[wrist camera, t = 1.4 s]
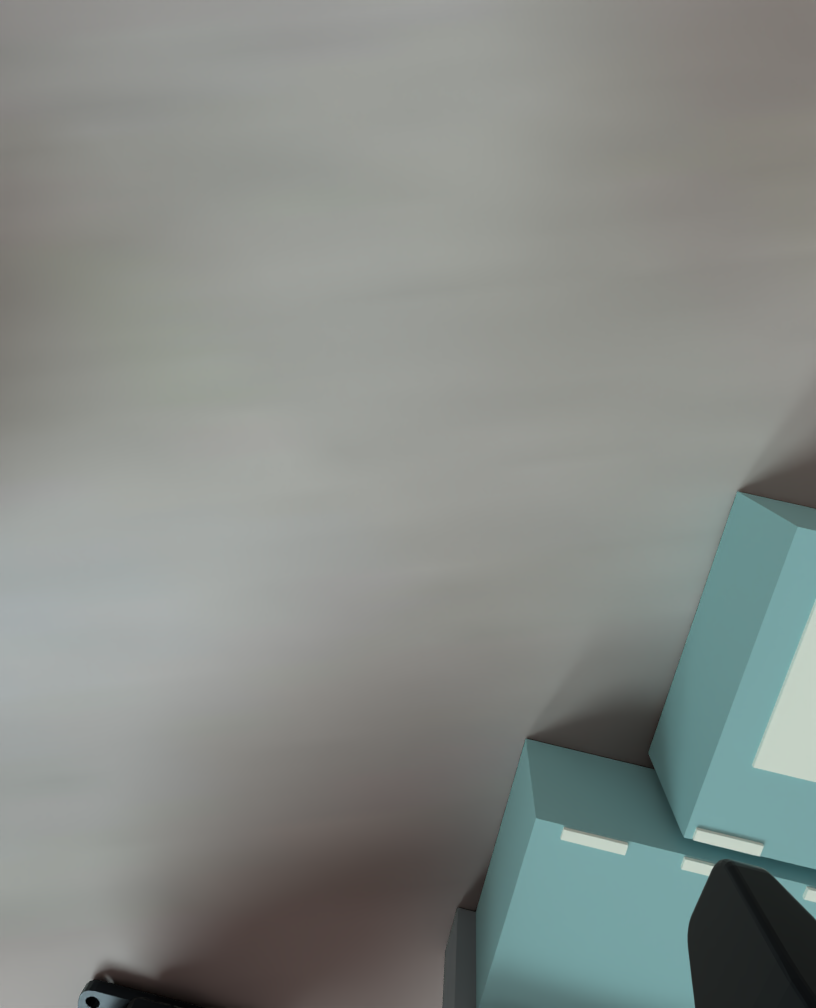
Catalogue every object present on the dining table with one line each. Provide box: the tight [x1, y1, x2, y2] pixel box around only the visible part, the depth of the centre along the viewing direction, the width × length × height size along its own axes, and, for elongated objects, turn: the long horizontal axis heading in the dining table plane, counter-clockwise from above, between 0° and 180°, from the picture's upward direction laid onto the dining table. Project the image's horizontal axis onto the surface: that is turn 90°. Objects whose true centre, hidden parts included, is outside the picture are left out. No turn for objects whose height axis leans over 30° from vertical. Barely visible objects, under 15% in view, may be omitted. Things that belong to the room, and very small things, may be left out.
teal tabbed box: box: [442, 739, 816, 1008], centre depth 19 cm, size 8×13×5 cm, turn 78°
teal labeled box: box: [648, 491, 816, 869], centre depth 17 cm, size 8×5×4 cm, turn 168°
